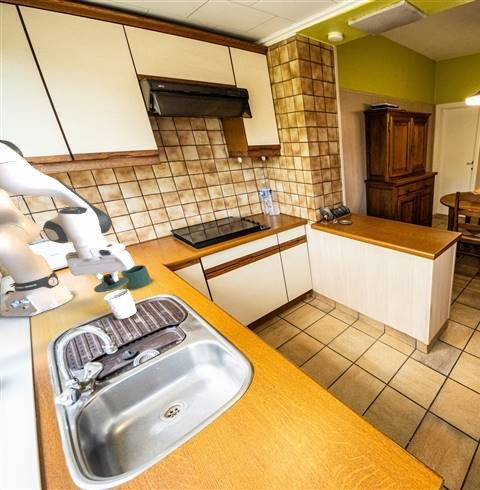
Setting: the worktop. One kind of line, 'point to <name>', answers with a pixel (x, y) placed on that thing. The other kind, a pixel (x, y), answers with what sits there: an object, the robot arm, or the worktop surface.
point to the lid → (110, 284)
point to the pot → (137, 277)
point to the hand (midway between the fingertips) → (110, 281)
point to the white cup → (121, 303)
